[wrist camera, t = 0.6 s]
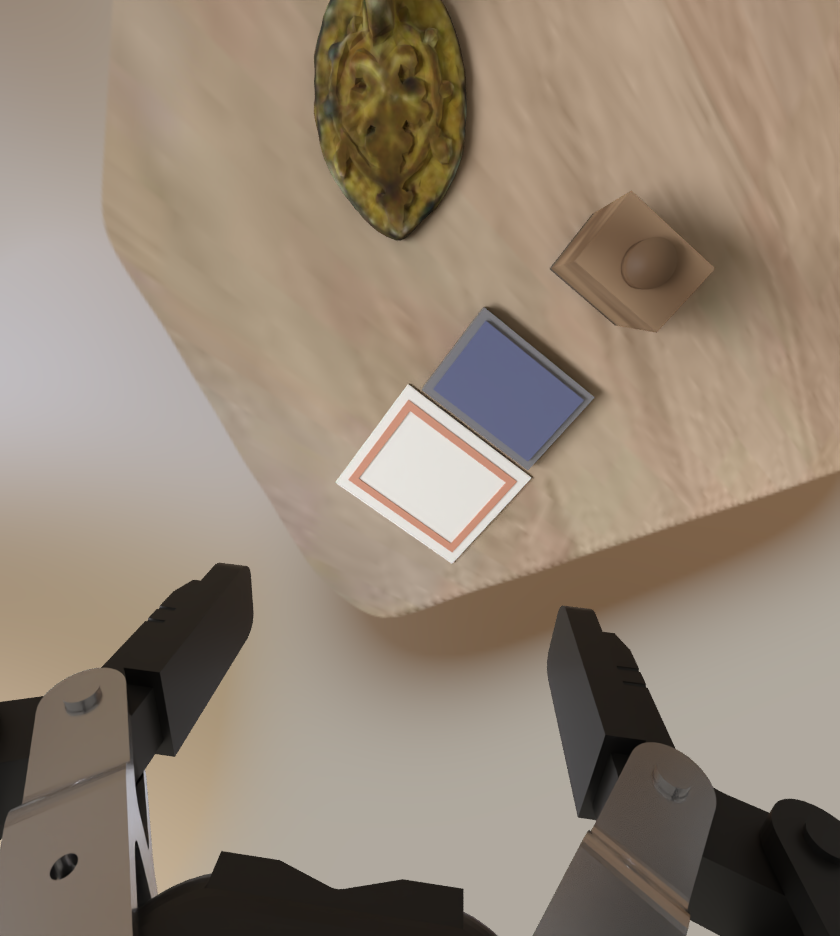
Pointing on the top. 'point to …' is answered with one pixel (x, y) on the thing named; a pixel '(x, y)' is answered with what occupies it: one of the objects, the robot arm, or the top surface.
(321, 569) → the top surface
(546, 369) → the ink pad
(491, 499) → the paper sheet
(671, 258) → the stamp
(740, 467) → the top surface
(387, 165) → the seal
